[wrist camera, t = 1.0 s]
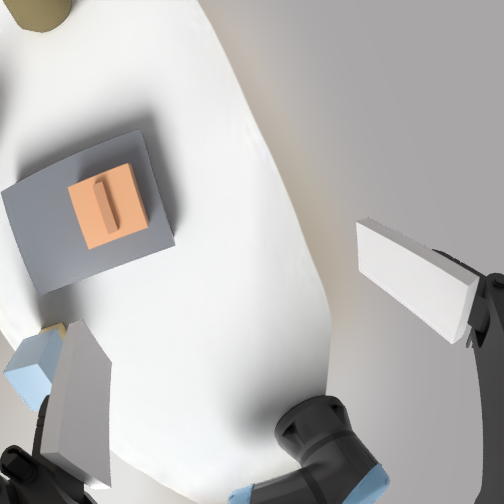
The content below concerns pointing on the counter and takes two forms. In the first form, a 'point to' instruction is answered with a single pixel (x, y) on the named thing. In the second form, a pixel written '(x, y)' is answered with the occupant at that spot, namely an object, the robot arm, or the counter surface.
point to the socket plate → (65, 220)
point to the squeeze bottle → (38, 13)
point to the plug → (36, 365)
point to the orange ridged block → (109, 206)
